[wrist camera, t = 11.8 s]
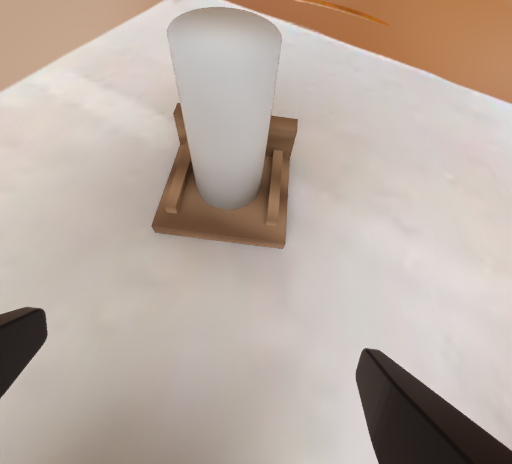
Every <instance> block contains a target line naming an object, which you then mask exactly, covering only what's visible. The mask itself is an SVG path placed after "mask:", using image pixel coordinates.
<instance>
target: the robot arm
mask: <svg viewBox="0 0 512 464" xmlns="http://www.w3.org/2000/svg"><path fill="white" fill-rule="evenodd" d="M46 338H47V324H46V315H45V312H44V310H43V309H41V308H33V307H24V308H21V309H17V310H14V311H10V312H7V313H4V314H0V398H1V397H2V396H3V395H4V393H5V392H6V391H7V390H8V388H9V387H10V386H11V385H12V383H13V382H14V381H15V380H16V378H17V377H18V376H19V374H20V373H21V372H22V371H23V369H24V368H25V367H26V366H27V364H28V363H29V362H30V360H31V359H32V358H33V357H34V355H35V354H36V353H37V352H38V350H39V349H40V348H41V346H42V345H43V344H44V342H45V341H46ZM356 382H357V386H358V390H359V394H360V398H361V402H362V406H363V410H364V414H365V418H366V422H367V427H368V431H369V434H370V438H371V442H372V445H373V448H374V451H375V454H376V457H377V460H378V463H379V464H512V451H511V450H510V449H509V448H507V447H506V446H505V445H503V444H502V443H501V442H500V441H498V440H497V439H496V438H494V437H493V436H492V435H490V434H489V433H488V432H486V431H485V430H484V429H482V428H481V427H480V426H478V425H477V424H476V423H474V422H473V421H472V420H471V419H469V418H468V417H467V416H465V415H464V414H463V413H461V412H460V411H459V410H457V409H456V408H455V407H453V406H452V405H451V404H449V403H448V402H447V401H446V400H444V399H443V398H442V397H440V396H439V395H438V394H436V393H435V392H434V391H432V390H431V389H430V388H428V387H427V386H426V385H424V384H423V383H422V382H421V381H419V380H418V379H417V378H415V377H414V376H413V375H411V374H410V373H409V372H407V371H406V370H405V369H403V368H402V367H401V366H399V365H398V364H397V363H396V362H394V361H393V360H392V359H390V358H389V357H388V356H386V355H385V354H384V353H382V352H381V351H380V350H377V349H369V348H365V349H363V350H362V352H361V356H360V359H359V363H358V366H357V369H356Z"/></svg>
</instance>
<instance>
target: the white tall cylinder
mask: <svg viewBox="0 0 512 464" xmlns="http://www.w3.org/2000/svg"><path fill="white" fill-rule="evenodd" d="M167 37H168V42H169V47H170V52H171V58H172V63H173V68H174V73H175V78H176V83H177V88H178V94H179V99H180V104H181V109H182V114H183V119H184V124H185V130H186V135H187V140H188V145H189V150H190V155H191V160H192V166H193V171H194V176H195V181H196V186H197V191H198V193H199V195H200V197H201V198H202V199H203V200H204V201H205V202H206V203H208V204H209V205H211V206H213V207H216V208H219V209H225V210H232V209H239V208H242V207H244V206H247V205H248V204H250V203H251V202H252V201H254V199H255V198H256V197H257V196H258V194H259V191H260V186H261V179H262V173H263V166H264V159H265V152H266V145H267V139H268V132H269V125H270V118H271V111H272V105H273V98H274V91H275V84H276V77H277V71H278V64H279V57H280V50H281V43H282V36H281V34H280V32H279V30H278V29H277V27H276V26H275V25H274V24H272V23H271V22H270V21H268V20H267V19H265V18H263V17H261V16H259V15H257V14H254V13H251V12H248V11H245V10H240V9H234V8H225V7H210V8H201V9H196V10H192V11H189V12H186V13H184V14H181V15H180V16H178V17H176V18H175V19H174V20H173V21H172V22H171V23H170V25H169V26H168V29H167Z"/></svg>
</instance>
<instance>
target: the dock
mask: <svg viewBox="0 0 512 464" xmlns="http://www.w3.org/2000/svg"><path fill="white" fill-rule="evenodd" d="M173 114H174V118H175V122H176V127H177V131H178V136H179V140H180V147H179V150H178V153H177V156H176V158H175V161H174V164H173V167H172V170H171V172H170V175H169V178H168V181H167V184H166V187H165V189H164V192H163V195H162V198H161V201H160V204H159V206H158V209H157V212H156V215H155V218H154V221H153V223H152V228H153V229H154V231H155V233H163V234H171V235H179V236H187V237H194V238H202V239H210V240H218V241H226V242H234V243H241V244H249V245H257V246H265V247H273V248H280V249H283V247H284V245H285V237H286V218H287V199H288V180H289V161H290V156H291V152H292V148H293V144H294V140H295V137H296V133H297V122H298V119H291V118H284V117H276V116H271V118H270V125H269V132H268V139H267V145H266V152H265V159H264V166H263V173H262V179H261V186H260V191H259V194H258V196H257V197H256V198H255V199H254V201H252V202H251V203H250V204H248V205H247V206H244V207H242V208H239V209H232V210H225V209H219V208H216V207H213V206H211V205H209V204H208V203H206V202H205V201H204V200H203V199H202V198H201V197H200V195H199V193H198V191H197V186H196V181H195V176H194V171H193V166H192V160H191V155H190V150H189V145H188V140H187V135H186V130H185V124H184V119H183V114H182V109H181V104H180V103H177V106H176V108H175V111H174V113H173Z"/></svg>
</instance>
